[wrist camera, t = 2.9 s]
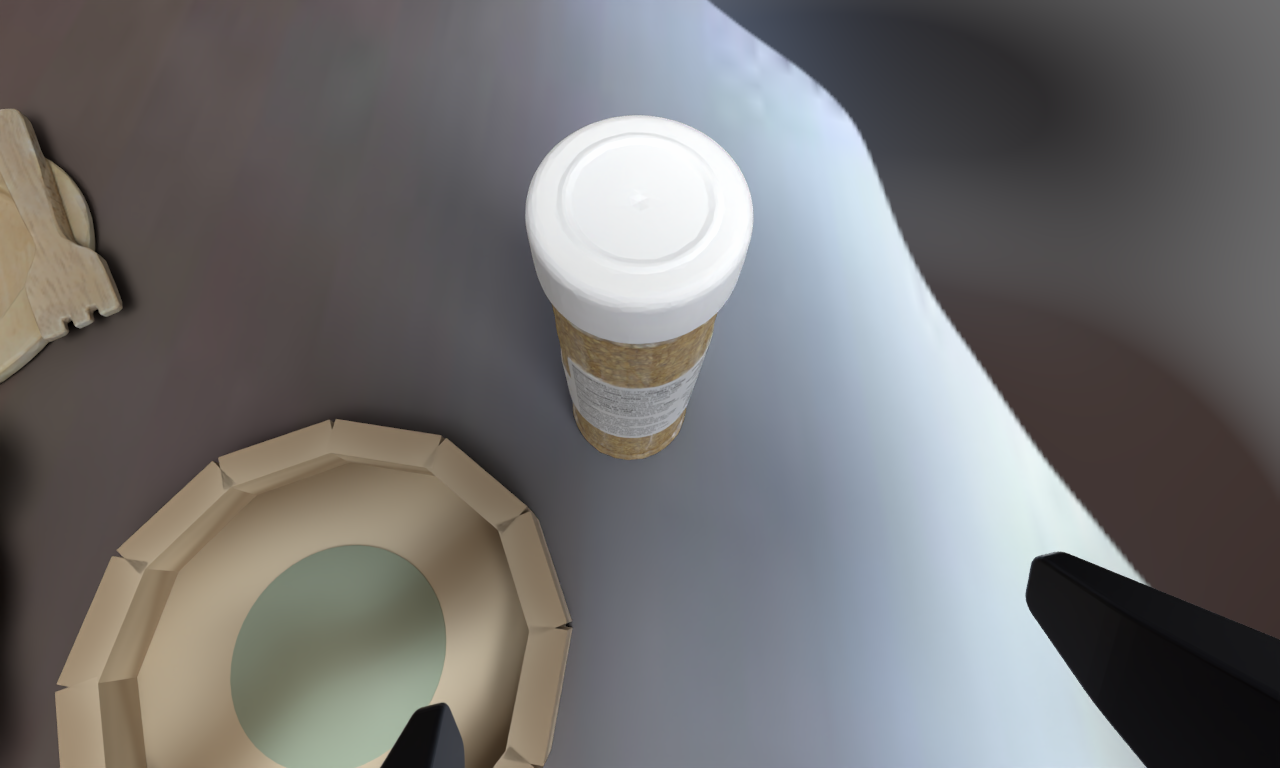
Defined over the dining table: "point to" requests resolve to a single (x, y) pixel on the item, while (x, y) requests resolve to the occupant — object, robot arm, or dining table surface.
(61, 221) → the tableware set
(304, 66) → the dining table surface
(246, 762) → the tray
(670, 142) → the sprinkles bottle
